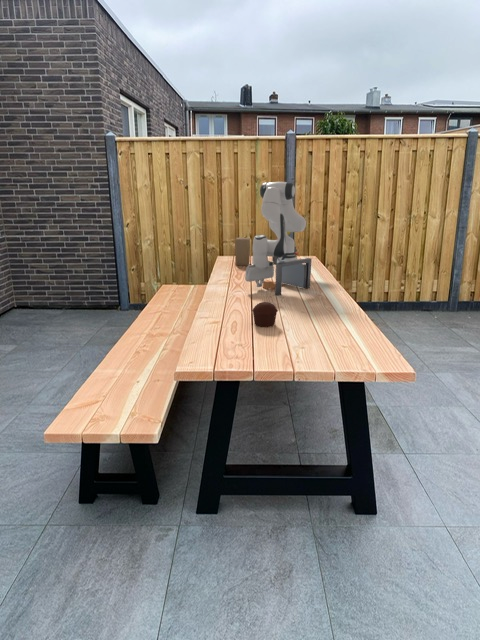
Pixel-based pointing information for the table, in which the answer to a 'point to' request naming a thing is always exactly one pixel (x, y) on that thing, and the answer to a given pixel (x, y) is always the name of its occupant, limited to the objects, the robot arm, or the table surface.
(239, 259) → the wooden block
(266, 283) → the orange stepped block
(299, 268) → the door
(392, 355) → the table surface
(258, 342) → the table surface
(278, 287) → the door frame
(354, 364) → the table surface
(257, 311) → the muffin
